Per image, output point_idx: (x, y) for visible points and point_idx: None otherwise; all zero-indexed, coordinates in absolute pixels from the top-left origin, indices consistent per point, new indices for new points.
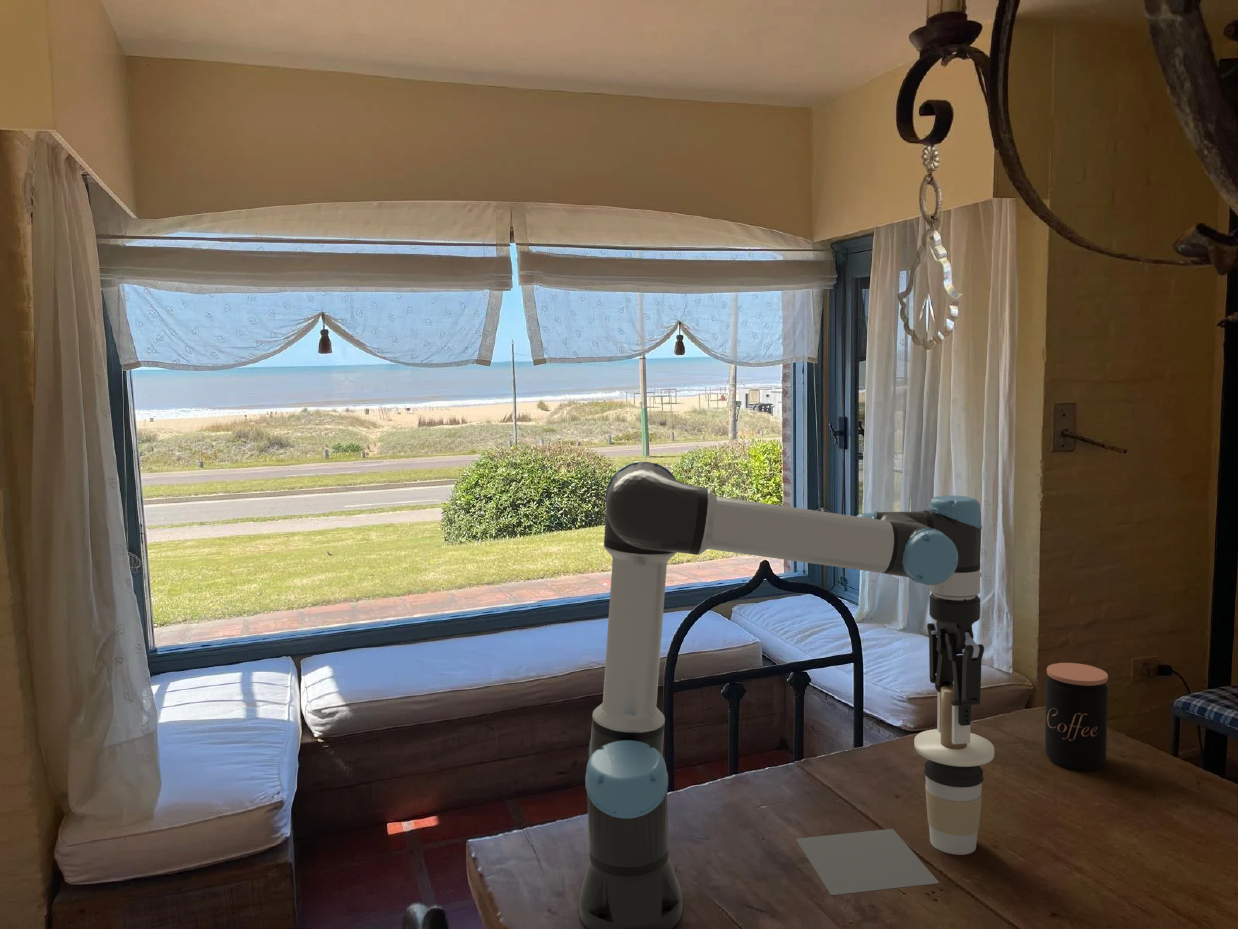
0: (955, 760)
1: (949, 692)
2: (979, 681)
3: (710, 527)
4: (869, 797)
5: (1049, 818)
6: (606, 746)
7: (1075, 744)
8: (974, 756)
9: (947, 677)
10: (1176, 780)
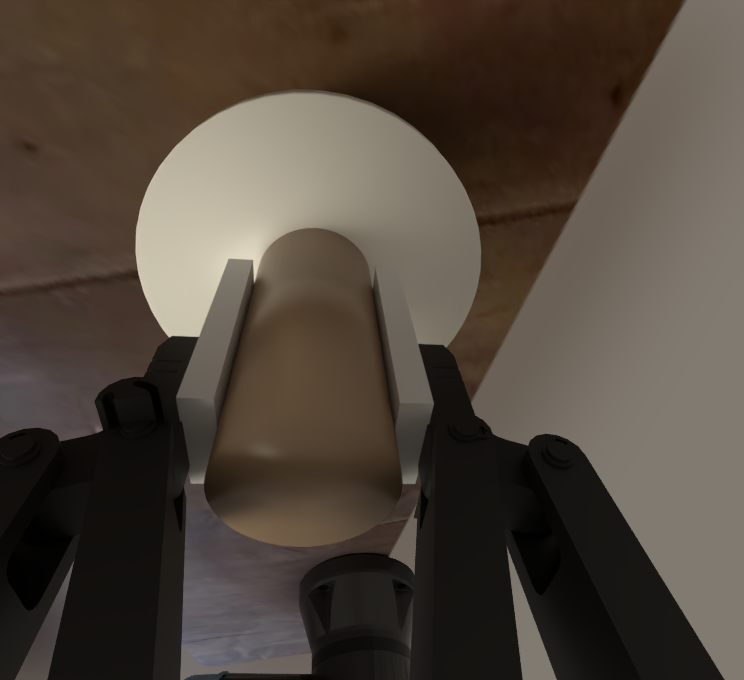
0: (446, 345)
1: (343, 526)
2: (684, 635)
3: None
4: (42, 224)
5: None
6: None
7: None
8: (449, 267)
9: (174, 548)
10: None
